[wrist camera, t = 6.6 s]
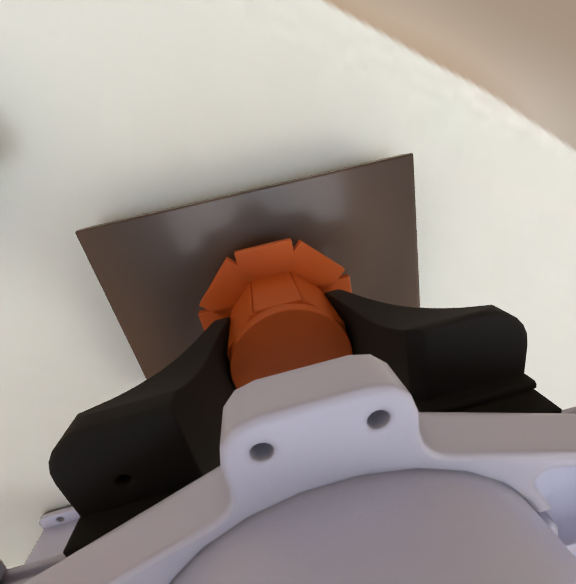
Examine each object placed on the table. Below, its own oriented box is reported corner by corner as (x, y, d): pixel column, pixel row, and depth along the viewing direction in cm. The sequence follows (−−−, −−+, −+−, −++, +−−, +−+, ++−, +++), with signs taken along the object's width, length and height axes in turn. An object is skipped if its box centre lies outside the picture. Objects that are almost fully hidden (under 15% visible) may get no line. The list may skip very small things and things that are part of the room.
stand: (173, 387, 20) (163, 415, 17) (98, 223, 16) (73, 231, 13) (402, 327, 21) (422, 346, 18) (389, 156, 16) (413, 152, 14)
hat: (228, 391, 15) (223, 462, 11) (181, 263, 12) (155, 300, 9) (358, 356, 15) (395, 414, 11) (340, 225, 13) (380, 244, 9)
